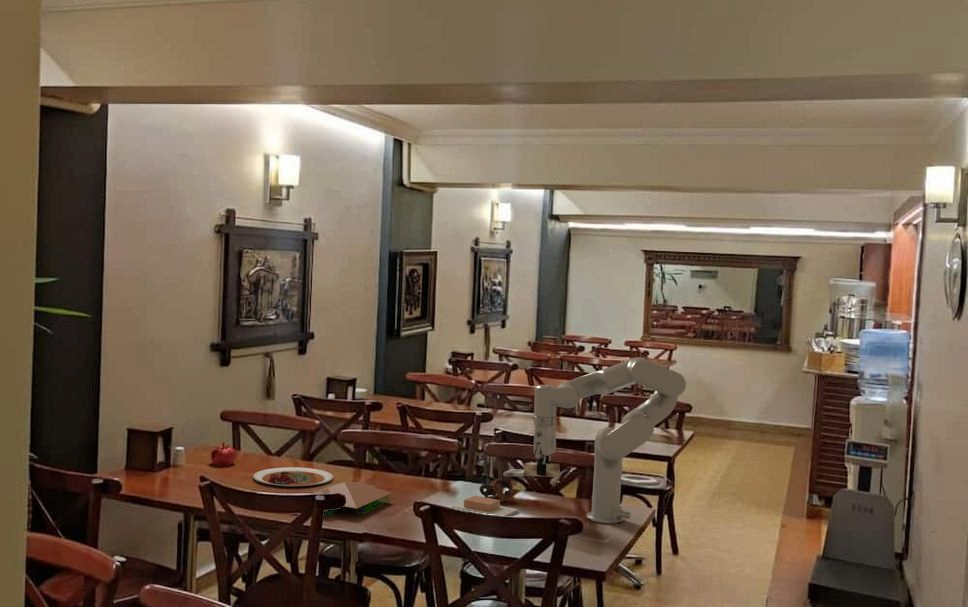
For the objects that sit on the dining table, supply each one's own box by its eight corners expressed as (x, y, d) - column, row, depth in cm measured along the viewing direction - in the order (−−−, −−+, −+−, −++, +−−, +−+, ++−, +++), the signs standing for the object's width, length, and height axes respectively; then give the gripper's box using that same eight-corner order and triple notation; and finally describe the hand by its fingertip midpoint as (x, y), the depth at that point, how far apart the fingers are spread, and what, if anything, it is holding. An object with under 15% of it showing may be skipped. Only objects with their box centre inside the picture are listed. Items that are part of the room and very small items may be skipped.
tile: (500, 500, 322) (474, 495, 327) (489, 504, 315) (464, 499, 319) (499, 507, 322) (474, 502, 327) (489, 511, 315) (463, 507, 320)
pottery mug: (501, 495, 344) (510, 479, 340) (507, 512, 336) (517, 495, 333) (472, 490, 339) (481, 473, 336) (479, 507, 331) (488, 490, 328)
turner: (561, 474, 317) (561, 462, 317) (554, 478, 311) (554, 466, 311) (511, 472, 326) (511, 461, 326) (503, 476, 319) (503, 464, 319)
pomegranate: (237, 462, 376) (239, 440, 375) (232, 467, 366) (233, 444, 365) (213, 461, 375) (214, 439, 375) (207, 466, 365) (208, 443, 365)
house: (395, 500, 330) (396, 477, 330) (349, 521, 299) (351, 496, 299) (339, 491, 338) (340, 469, 338) (289, 511, 307) (290, 486, 307)
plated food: (341, 475, 366) (341, 466, 366) (320, 492, 336) (321, 483, 336) (268, 469, 369) (268, 461, 368) (241, 486, 339) (241, 477, 339)
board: (518, 512, 321) (518, 509, 321) (502, 519, 310) (502, 516, 310) (468, 502, 330) (468, 499, 330) (451, 509, 320) (451, 506, 319)
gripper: (546, 425, 307) (544, 480, 308) (563, 419, 322) (561, 471, 322) (525, 423, 310) (524, 477, 311) (543, 417, 325) (541, 468, 326)
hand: (543, 473), depth 317 cm, fingers closed on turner, 3 cm apart
